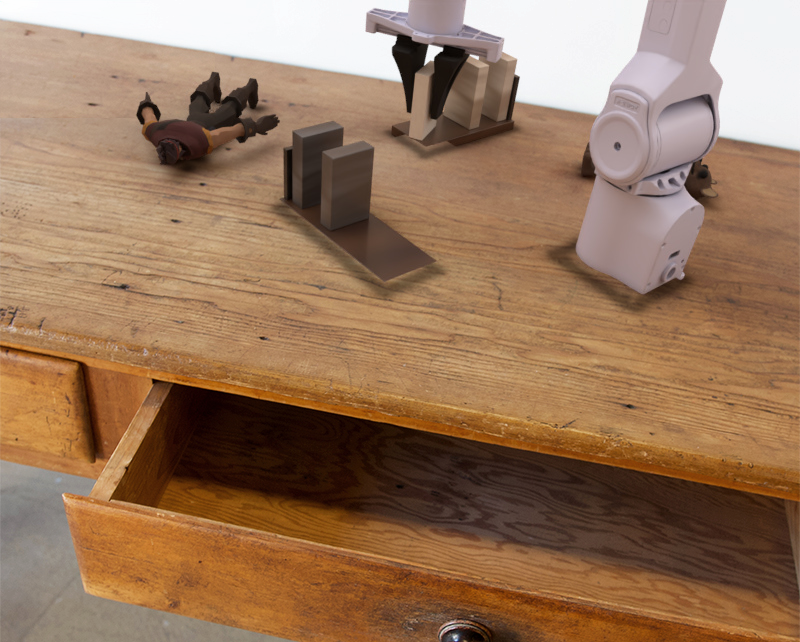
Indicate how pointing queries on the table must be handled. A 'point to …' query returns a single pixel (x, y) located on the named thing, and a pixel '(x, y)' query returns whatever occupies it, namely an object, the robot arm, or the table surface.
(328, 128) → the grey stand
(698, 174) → the bear figurine
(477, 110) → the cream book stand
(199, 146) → the figurine
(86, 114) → the table surface
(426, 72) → the cream wooden block
